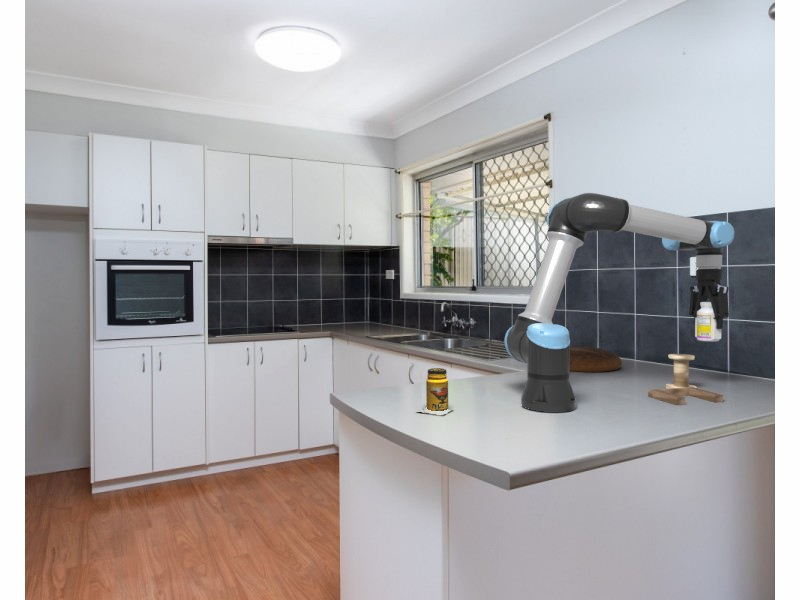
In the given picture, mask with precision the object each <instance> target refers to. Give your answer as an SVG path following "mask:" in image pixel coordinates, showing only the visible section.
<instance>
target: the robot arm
mask: <svg viewBox="0 0 800 600" xmlns="http://www.w3.org/2000/svg"><path fill="white" fill-rule="evenodd" d="M546 225H547V226H548V228H547V232H546V236H547V238H548V243H547V246H546V250H545V253H544V255H543V258H542V261H541V264H540V266H539V269H538V272H537V275H536V277H535V280H534V283H533V286H532V289H531V291H530V292H531V293H530V295H529V298H528V301H527V303H526V304H527V305H526V306H525V309H524V311H523V312H521V313H519V314H517V317H516V320H515V323H514V325H512V326H511V327H509V329H507V331H506V333H505V334H504V335H505V336H504V339H503V340H504V346H505V347H504V348H505V349H506V352H507V353H508V355H509V356H511V358H513V359H515V361H517V362H520V363H524V364H526V365H527V370H526V371H527V372H526V373H527V376H526V381H525V382H526V383H525V385H524V389H523V392H522V395H521V396H520V397H521V399H520V405H521V404H522V406H524V407H526V408H529V409H532V410H531V411H534V410H536V411H535V412H540V411H544V412H543V413H568V412H572V411H574V410H576V409H577V401H576V396H575V393H574V390H573V388H572V384H571V380H570V371H569V363H570V346H571V345H570V344H571V339H570V331H569V330H568V328H567V327H565V326H563V325H561V324H557V323H556V324H554V323H553V321H552V319H553V317H554V314H555V311H556V308H557V305H558V302H559V299H560V297H561V293H562V291H563V288H564V285H565V283H566V279H567V277H568V275H569V274H568V273H569V271H570V269H571V265H572V263H573V259H574V257H575V254H576V250H577V249H578V248H580V247H582V246H583V245H584V244H585V240H586V238H587V235H588V233H593V232H601V231H603V232H604V231H607V232H613V233H619V232H621V231H627V232H631V233H636V234H640V235H645V236H650V237H651V236H652V237H655V238H660V239H661V243H662V246H663V248H664V249H666V250H669V251H695V252H696V253H695V256H696V257H695V267H696V268H697V269H696V270H695V280H697V284H696V285H693V286H689V291H690V300H689V310H688V313H689V316H692V317H693V325H694V337H695V338H697V311H698V310H700V309H701V306H700V302H707V301H708V299H709V300H710V301H709V302H711V304H712V308H713V312H714V316H715V317H714V318H713V337H712V339H720V340H721V339H722V330H723V328H724V326H723V324H724V319H726V318H729V317H730V315H729V314H730V311H729V299H728V297H729V296H728V293H729V286H723V285H721V281H722V279H723V269H722V267H723V247H727V246H729V245H730V244H732V243H733V241H734V239H735V228H734V226H733V225H732V224H731V223H729V222H727V221H719V220H702V219H698V218H694V217H689V216H684V215H679V214H675V213H669V212H665V211H661V210H657V209H652V208H648V207H642V206H638V205H634V204H630V202H628V200H627V199H624V198H620V197H619V198H618V197H614V196H611V195H610V196H609V195H607V194H606V195H605V194H600V193H594V192H586V193H585V192H584V193H580V194H578V195H574V196H572V197H567V198H563V199H561V200H560V201H557V202H556V203H555V204H553V205H552V207H551V208H550V209H549V211H548V213H547V217H546ZM522 406H521V407H522ZM524 407H523V408H524ZM526 408H525V409H526ZM529 409H528V410H529Z"/></svg>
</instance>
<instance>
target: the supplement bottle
mask: <svg viewBox="0 0 800 600" xmlns="http://www.w3.org/2000/svg"><path fill="white" fill-rule="evenodd" d="M700 306H701V309H700V310H698V311H697V337H696V340H697V341H699V342H719V341H720V340H721V339H712V337H713V318H714V317H715V316H714V312H713V308H712V304H711V301H706V302H700Z"/></svg>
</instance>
